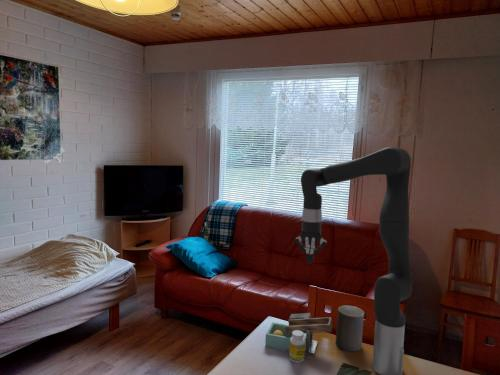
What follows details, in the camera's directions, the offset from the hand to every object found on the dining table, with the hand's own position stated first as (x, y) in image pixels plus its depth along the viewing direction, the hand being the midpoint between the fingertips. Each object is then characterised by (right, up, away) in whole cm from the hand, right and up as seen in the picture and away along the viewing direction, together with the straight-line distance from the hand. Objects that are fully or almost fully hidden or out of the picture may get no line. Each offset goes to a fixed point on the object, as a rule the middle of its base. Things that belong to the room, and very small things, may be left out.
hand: (309, 262), depth 146 cm
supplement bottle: (-7, -31, -16) cm, 36 cm away
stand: (-2, -30, -9) cm, 32 cm away
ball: (-13, -27, -6) cm, 30 cm away
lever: (-1, -22, -6) cm, 23 cm away
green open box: (-12, -29, -6) cm, 32 cm away
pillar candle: (+14, -31, -6) cm, 34 cm away
